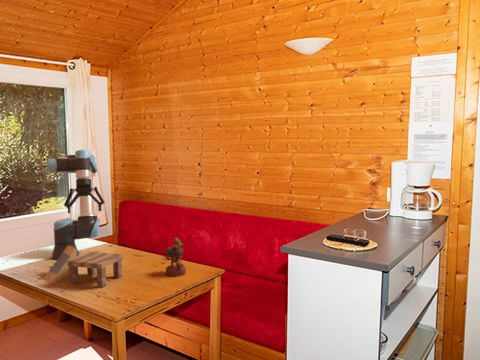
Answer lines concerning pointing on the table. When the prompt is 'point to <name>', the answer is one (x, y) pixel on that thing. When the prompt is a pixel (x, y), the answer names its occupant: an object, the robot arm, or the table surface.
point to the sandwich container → (61, 265)
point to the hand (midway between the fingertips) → (85, 218)
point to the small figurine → (175, 260)
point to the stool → (95, 266)
